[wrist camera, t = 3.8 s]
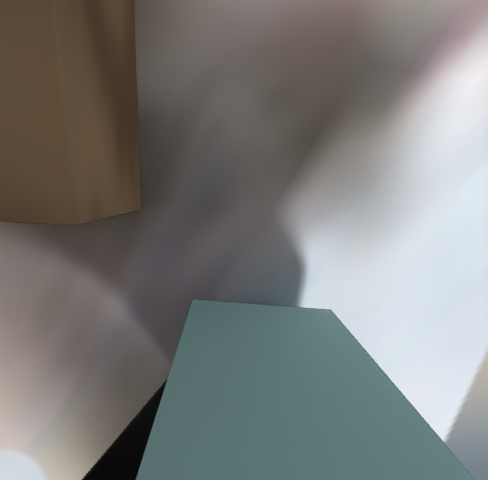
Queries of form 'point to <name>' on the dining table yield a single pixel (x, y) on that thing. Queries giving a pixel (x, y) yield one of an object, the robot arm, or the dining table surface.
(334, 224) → the dining table surface
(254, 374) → the teal cube
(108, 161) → the walnut block
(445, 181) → the dining table surface
